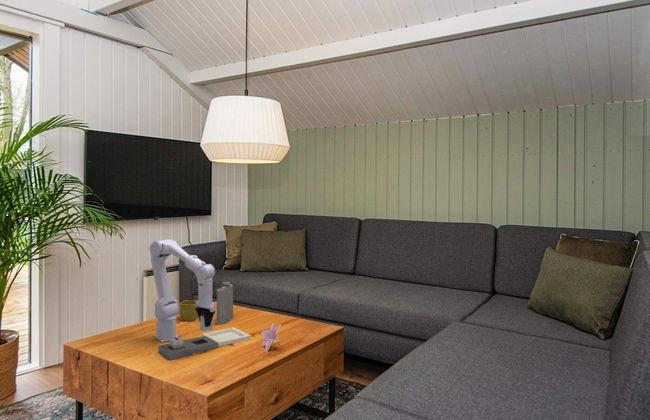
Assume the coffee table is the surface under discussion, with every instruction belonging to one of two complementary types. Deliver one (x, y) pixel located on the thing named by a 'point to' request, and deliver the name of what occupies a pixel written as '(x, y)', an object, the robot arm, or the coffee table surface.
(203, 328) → the block
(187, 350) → the metal frame
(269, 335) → the lily
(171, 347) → the billet
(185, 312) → the flower pot
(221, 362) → the coffee table surface
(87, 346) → the coffee table surface
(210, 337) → the white square tray
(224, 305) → the hip flask
